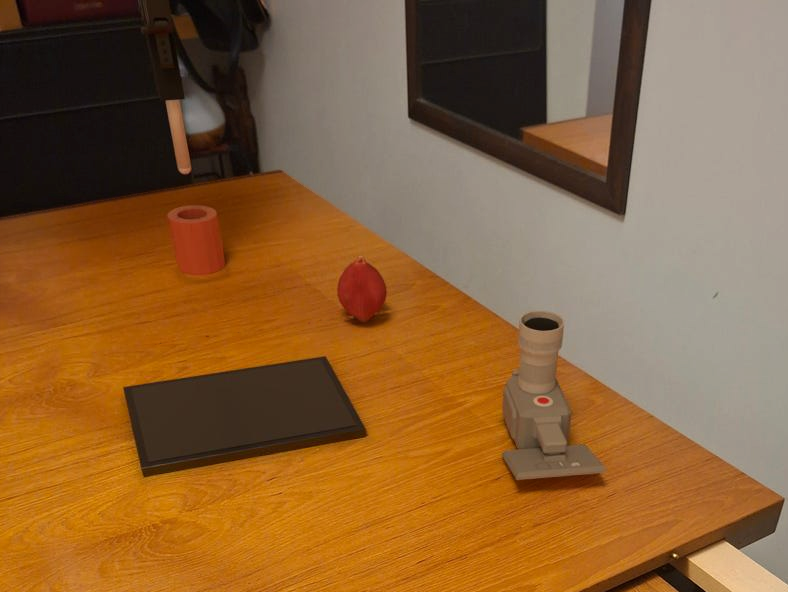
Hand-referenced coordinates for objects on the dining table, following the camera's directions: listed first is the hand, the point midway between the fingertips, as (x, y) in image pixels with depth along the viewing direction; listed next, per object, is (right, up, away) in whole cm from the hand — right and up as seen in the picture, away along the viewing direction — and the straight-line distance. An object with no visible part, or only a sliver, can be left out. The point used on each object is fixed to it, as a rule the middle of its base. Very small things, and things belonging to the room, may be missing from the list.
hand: (171, 96), depth 104 cm
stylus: (0, -6, +6) cm, 8 cm away
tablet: (+11, -40, -11) cm, 43 cm away
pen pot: (-1, -14, +14) cm, 20 cm away
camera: (+42, -44, -14) cm, 63 cm away
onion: (+22, -24, +5) cm, 33 cm away
